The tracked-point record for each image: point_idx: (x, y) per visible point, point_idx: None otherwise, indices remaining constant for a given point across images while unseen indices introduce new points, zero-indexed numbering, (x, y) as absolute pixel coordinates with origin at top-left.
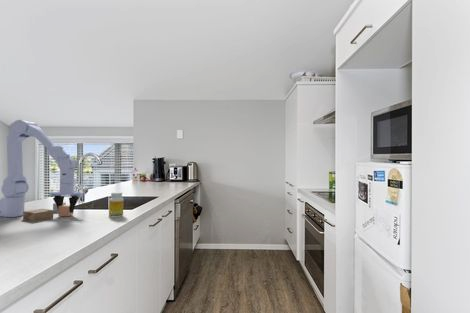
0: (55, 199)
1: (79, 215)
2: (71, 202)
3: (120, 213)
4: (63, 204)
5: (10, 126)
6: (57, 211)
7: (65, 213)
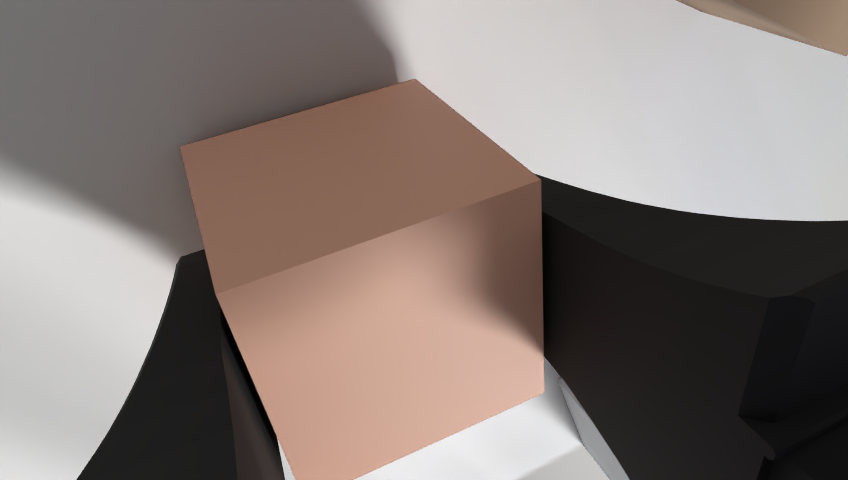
0: (820, 251)
1: (90, 353)
2: (140, 460)
3: None
4: None
5: None
6: None
7: (267, 151)
